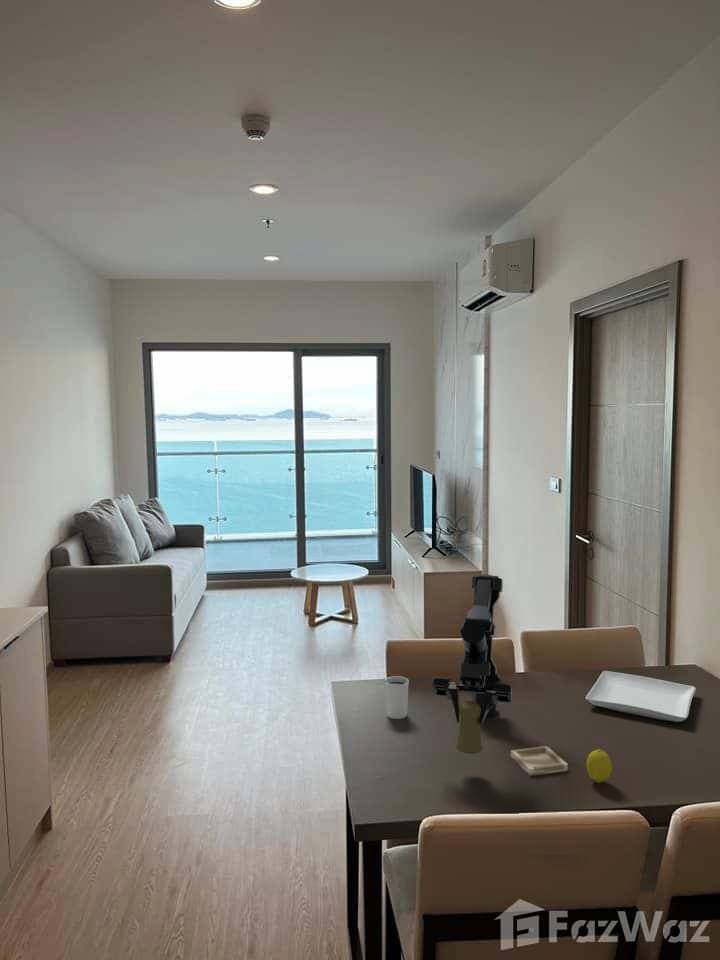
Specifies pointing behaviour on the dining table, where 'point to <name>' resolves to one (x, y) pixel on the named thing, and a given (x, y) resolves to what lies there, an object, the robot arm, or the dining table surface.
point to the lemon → (599, 766)
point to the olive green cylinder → (469, 728)
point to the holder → (538, 760)
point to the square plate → (642, 696)
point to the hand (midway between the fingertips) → (469, 723)
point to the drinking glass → (396, 697)
